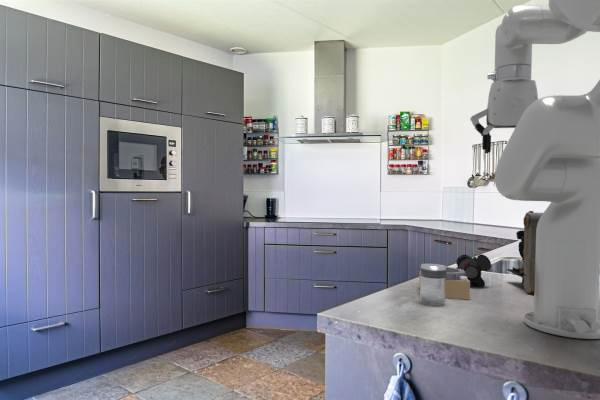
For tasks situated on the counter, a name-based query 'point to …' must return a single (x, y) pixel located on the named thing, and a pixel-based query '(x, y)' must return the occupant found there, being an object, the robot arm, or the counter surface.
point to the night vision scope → (474, 267)
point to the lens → (432, 284)
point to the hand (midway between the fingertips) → (510, 152)
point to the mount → (455, 284)
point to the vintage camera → (528, 251)
